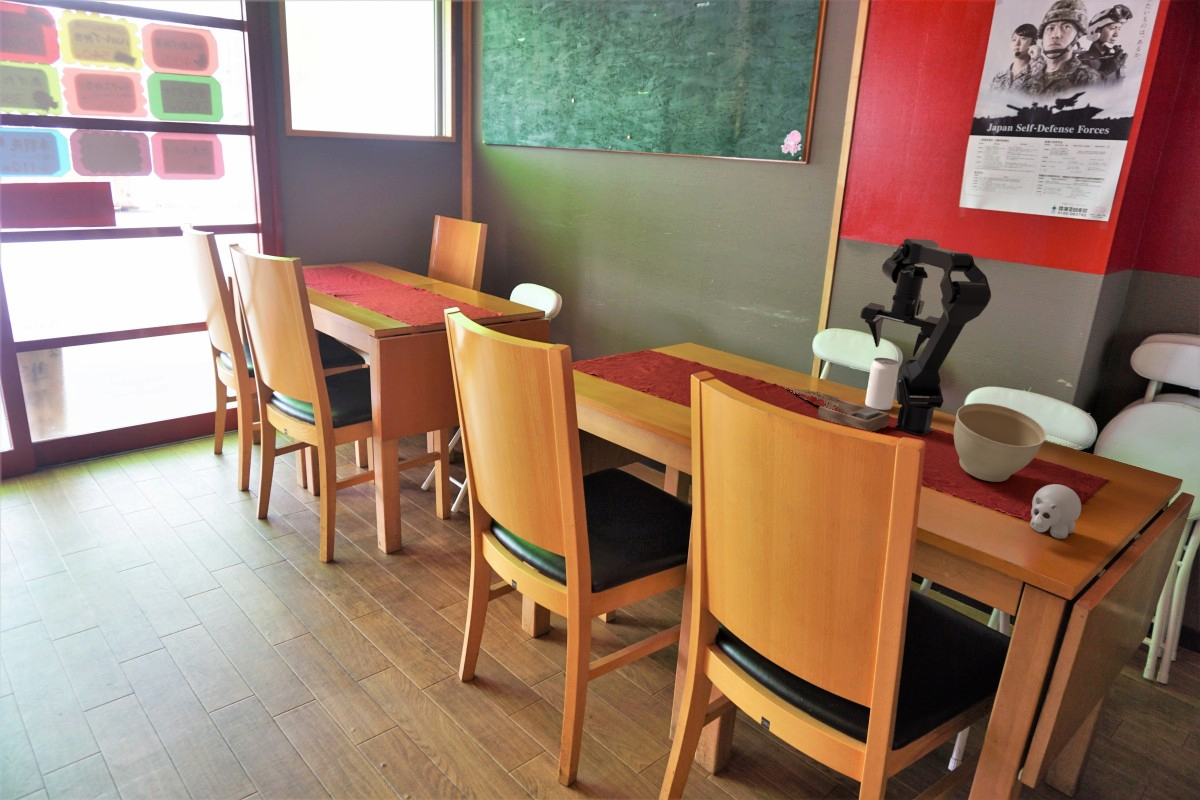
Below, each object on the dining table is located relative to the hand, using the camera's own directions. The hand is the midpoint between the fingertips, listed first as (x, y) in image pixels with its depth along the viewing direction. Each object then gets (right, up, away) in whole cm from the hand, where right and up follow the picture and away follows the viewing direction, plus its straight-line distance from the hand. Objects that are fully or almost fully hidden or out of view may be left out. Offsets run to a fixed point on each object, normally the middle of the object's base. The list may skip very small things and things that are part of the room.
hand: (895, 351), depth 194 cm
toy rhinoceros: (+3, -35, -60) cm, 70 cm away
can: (-3, -14, +3) cm, 15 cm away
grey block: (-11, -18, -12) cm, 25 cm away
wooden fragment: (-17, -13, +5) cm, 22 cm away
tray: (-14, -17, -10) cm, 24 cm away
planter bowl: (+4, -26, -36) cm, 44 cm away
